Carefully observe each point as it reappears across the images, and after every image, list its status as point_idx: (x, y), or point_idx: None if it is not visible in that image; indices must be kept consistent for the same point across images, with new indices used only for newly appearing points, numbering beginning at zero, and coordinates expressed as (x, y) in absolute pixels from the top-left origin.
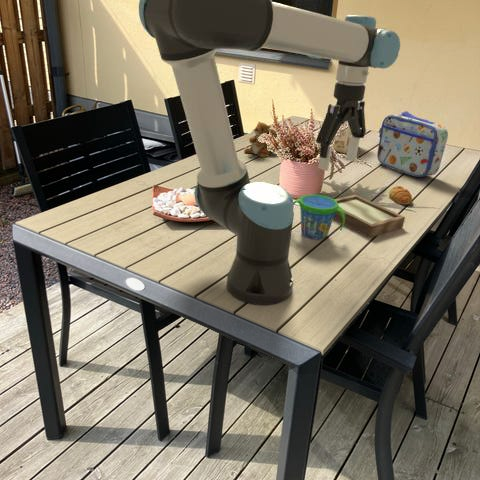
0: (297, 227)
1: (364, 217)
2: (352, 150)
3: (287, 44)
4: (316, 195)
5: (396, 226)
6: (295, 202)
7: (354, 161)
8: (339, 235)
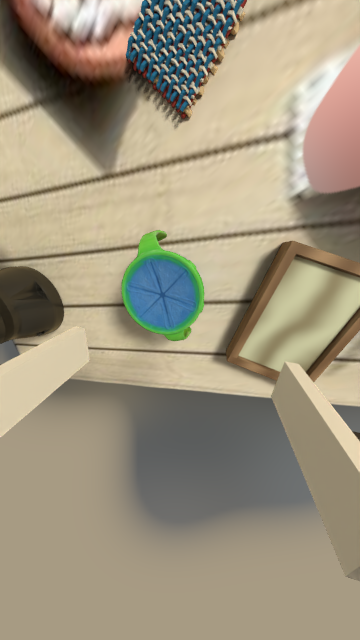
0: (181, 246)
1: (268, 336)
2: (299, 427)
3: None
4: (190, 272)
5: None
6: (139, 246)
7: (272, 397)
8: (202, 314)
